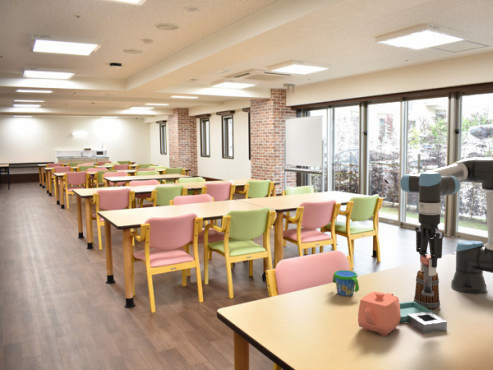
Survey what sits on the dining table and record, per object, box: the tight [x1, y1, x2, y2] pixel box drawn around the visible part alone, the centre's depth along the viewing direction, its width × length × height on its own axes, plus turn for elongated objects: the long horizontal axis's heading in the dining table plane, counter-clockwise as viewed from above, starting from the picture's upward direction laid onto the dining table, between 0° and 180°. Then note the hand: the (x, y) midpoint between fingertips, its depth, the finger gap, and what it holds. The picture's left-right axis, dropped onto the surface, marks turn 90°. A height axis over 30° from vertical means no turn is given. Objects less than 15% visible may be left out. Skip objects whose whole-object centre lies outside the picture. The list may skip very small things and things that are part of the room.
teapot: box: [357, 291, 401, 337], centre depth 157 cm, size 22×13×14 cm, turn 138°
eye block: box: [406, 312, 448, 335], centre depth 159 cm, size 10×10×4 cm
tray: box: [399, 300, 436, 324], centre depth 171 cm, size 16×13×2 cm
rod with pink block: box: [419, 254, 434, 297], centre depth 158 cm, size 4×4×15 cm
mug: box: [413, 270, 441, 311], centre depth 182 cm, size 16×11×15 cm
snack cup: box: [332, 269, 360, 297], centre depth 195 cm, size 16×10×10 cm
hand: (428, 273), depth 158 cm, fingers closed on rod with pink block, 4 cm apart
